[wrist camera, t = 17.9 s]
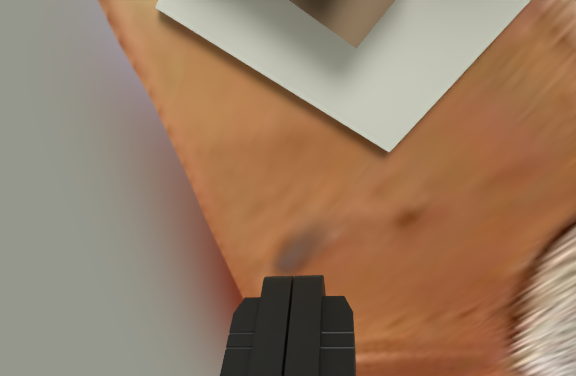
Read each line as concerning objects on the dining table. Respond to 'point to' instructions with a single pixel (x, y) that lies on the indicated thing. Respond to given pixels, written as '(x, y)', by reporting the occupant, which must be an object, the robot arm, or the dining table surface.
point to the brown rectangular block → (346, 16)
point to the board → (355, 54)
